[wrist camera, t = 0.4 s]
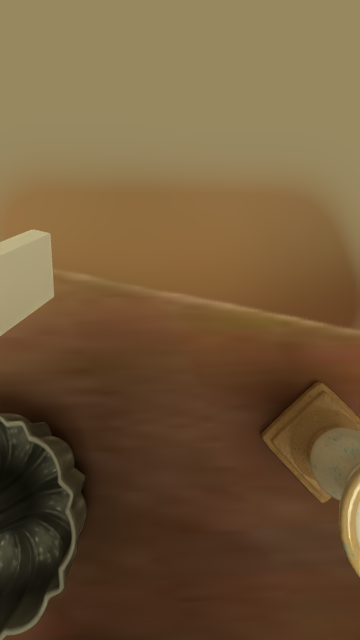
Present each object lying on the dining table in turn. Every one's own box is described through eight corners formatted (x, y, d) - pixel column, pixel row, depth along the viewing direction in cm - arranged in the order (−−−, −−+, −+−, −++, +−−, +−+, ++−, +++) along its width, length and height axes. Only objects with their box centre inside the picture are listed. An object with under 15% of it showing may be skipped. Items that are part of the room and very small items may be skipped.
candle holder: (318, 499, 44) (431, 668, 20) (258, 434, 46) (298, 521, 22) (380, 442, 44) (567, 545, 20) (317, 379, 45) (421, 406, 22)
